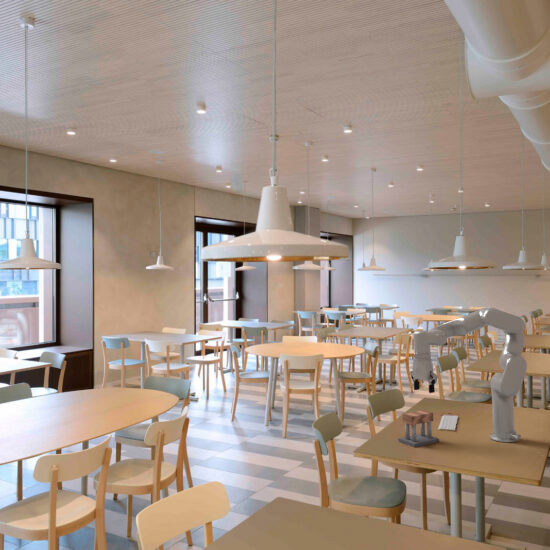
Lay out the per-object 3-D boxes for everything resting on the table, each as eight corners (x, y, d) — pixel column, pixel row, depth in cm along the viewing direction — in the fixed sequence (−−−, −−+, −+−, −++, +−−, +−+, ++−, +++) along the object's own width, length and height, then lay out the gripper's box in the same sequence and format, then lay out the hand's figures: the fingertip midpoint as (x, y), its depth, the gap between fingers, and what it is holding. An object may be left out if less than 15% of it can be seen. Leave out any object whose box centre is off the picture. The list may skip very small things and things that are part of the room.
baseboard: (434, 431, 283) (455, 432, 279) (434, 425, 283) (454, 427, 280) (439, 417, 311) (458, 418, 308) (439, 412, 311) (458, 413, 308)
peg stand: (439, 441, 262) (438, 421, 262) (414, 447, 254) (413, 426, 254) (422, 436, 272) (422, 417, 272) (398, 441, 264) (397, 421, 264)
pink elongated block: (411, 425, 257) (411, 416, 257) (402, 422, 262) (402, 414, 262) (433, 421, 264) (433, 412, 264) (424, 418, 269) (424, 410, 269)
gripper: (404, 355, 272) (405, 389, 272) (430, 358, 258) (432, 395, 257) (415, 353, 276) (416, 387, 276) (441, 356, 261) (443, 392, 261)
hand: (424, 391), depth 267 cm, fingers open, 9 cm apart
